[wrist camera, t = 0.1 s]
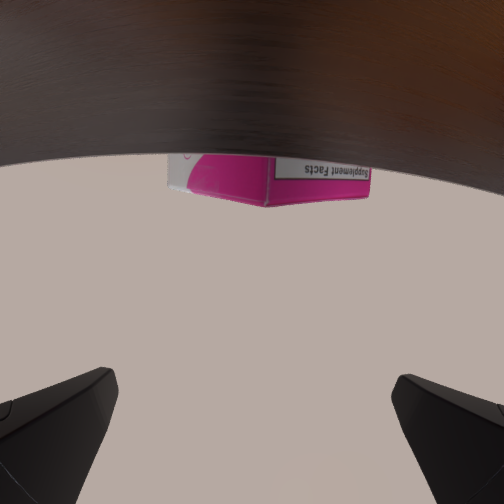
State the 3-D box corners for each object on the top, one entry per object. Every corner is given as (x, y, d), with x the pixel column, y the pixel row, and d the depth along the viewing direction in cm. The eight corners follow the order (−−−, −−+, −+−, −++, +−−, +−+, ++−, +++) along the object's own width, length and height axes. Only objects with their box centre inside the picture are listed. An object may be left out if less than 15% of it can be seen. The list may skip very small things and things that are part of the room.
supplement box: (278, -11, 12) (267, 185, 15) (183, -48, 8) (156, 189, 11) (371, -39, 8) (371, 204, 11) (274, -111, 4) (254, 213, 7)
